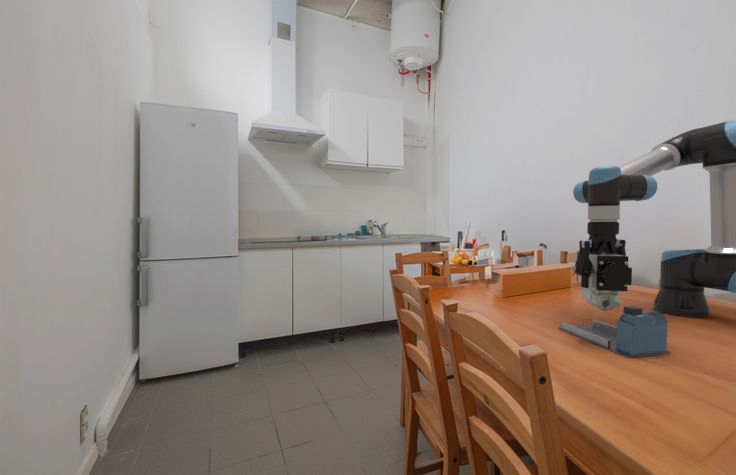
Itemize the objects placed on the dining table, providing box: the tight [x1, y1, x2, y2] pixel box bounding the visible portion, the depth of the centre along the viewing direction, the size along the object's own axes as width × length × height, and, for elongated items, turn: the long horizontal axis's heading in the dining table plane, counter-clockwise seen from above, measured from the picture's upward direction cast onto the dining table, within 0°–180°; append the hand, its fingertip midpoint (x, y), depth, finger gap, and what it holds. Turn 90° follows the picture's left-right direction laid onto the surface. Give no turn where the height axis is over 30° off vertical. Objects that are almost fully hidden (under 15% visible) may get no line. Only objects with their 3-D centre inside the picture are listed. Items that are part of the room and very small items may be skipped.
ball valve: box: [574, 250, 633, 312], centre depth 96 cm, size 18×8×18 cm, turn 169°
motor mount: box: [557, 305, 671, 359], centre depth 94 cm, size 13×23×12 cm, turn 12°
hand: (600, 297), depth 96 cm, fingers closed on ball valve, 9 cm apart
